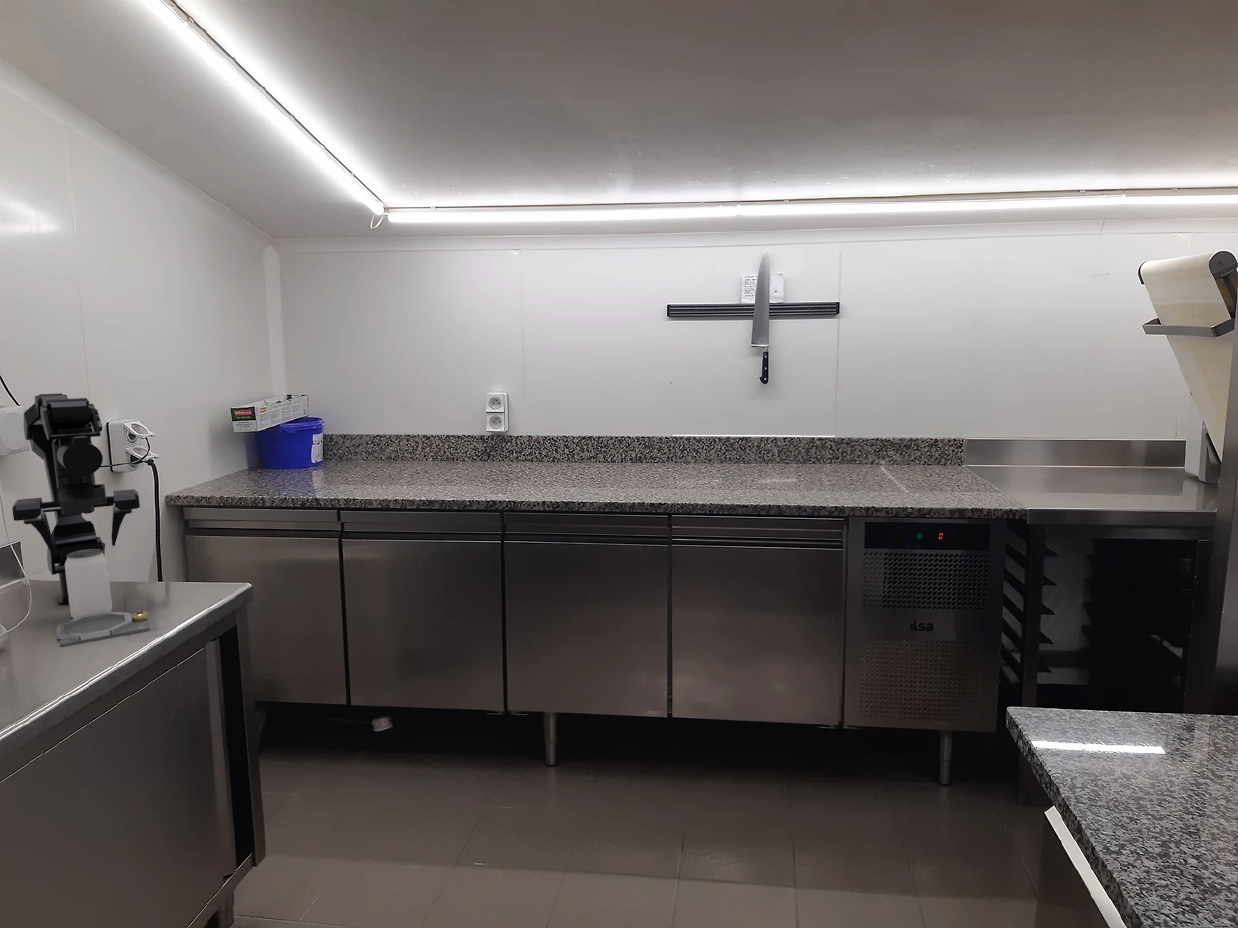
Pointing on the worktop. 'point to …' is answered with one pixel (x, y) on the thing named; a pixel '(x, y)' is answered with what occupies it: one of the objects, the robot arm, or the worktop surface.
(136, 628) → the carrier plate
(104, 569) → the can
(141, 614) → the brass round knob
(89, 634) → the socket
